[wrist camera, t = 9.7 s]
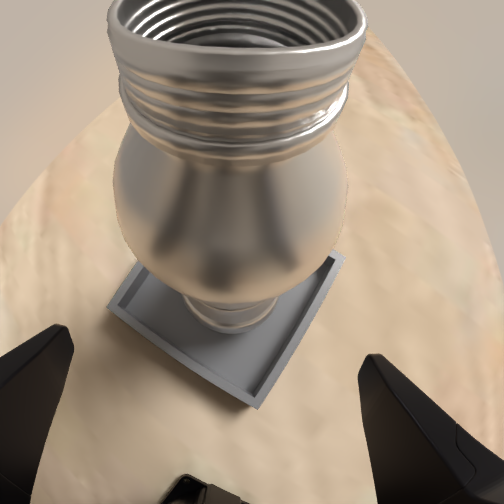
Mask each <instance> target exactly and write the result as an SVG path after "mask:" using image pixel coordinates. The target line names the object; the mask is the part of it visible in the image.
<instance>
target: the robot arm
mask: <svg viewBox="0 0 504 504" xmlns="http://www.w3.org/2000/svg"><path fill="white" fill-rule="evenodd" d="M73 353H74V345H73V342H72V339H71V336H70V333H69V330H68V328H67V327H66V326H64V325H59V324H54V325H52V326H50V327H49V328H47V329H45V330H44V331H42V332H40V333H39V334H37V335H36V336H34V337H32V338H31V339H29V340H27V341H26V342H24V343H22V344H21V345H19V346H18V347H16V348H14V349H13V350H11V351H10V352H8V353H6V354H5V355H3V356H2V357H0V504H30V500H31V494H32V490H33V486H34V482H35V478H36V474H37V470H38V466H39V462H40V459H41V455H42V452H43V449H44V445H45V442H46V439H47V436H48V432H49V429H50V426H51V423H52V420H53V417H54V415H55V412H56V409H57V406H58V403H59V401H60V398H61V395H62V392H63V389H64V385H65V381H66V378H67V374H68V370H69V367H70V363H71V360H72V356H73ZM358 385H359V394H360V403H361V413H362V422H363V427H364V432H365V437H366V441H367V446H368V451H369V457H370V462H371V467H372V473H373V478H374V484H375V490H376V496H377V502H378V504H504V460H502V459H501V458H500V457H498V456H497V455H496V454H494V453H493V452H491V451H490V450H489V449H487V448H486V447H485V446H484V445H482V444H481V443H480V442H478V441H477V440H476V439H475V438H474V437H472V436H471V435H470V434H469V433H468V432H467V431H466V430H464V429H463V428H462V427H461V426H460V425H459V424H456V421H455V420H453V419H452V418H451V417H450V416H449V415H448V414H447V413H446V412H445V411H444V410H442V409H441V408H440V407H439V406H438V405H437V404H436V403H435V402H434V401H433V400H431V399H430V398H429V397H428V396H427V395H426V394H425V393H424V392H423V391H422V390H420V389H419V388H418V387H417V386H416V385H415V384H414V383H413V382H412V381H410V380H409V379H408V378H407V377H406V376H405V375H404V374H403V373H402V372H400V371H399V370H398V369H397V368H396V367H395V366H394V365H393V364H392V363H390V362H389V361H388V360H387V359H386V358H385V357H384V356H383V355H381V354H368V355H367V356H366V358H365V360H364V362H363V364H362V366H361V368H360V370H359V373H358ZM184 479H189V480H190V482H186V481H185V480H184ZM160 504H249V503H247V502H244V501H242V500H241V499H240V497H238V496H236V495H234V494H232V493H229V492H227V491H225V490H223V489H221V488H219V487H217V486H215V485H213V484H206V483H205V482H203V481H201V480H199V479H197V478H195V477H193V476H191V475H189V474H184V475H182V476H181V478H180V479H179V480H178V482H177V483H176V484H175V486H174V487H173V488H172V489H171V491H170V492H169V493H168V495H167V496H166V497H165V498H164V500H163V501H162V502H161V503H160Z"/></svg>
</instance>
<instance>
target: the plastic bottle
mask: <svg viewBox="0 0 504 504" xmlns="http://www.w3.org/2000/svg"><path fill="white" fill-rule="evenodd" d="M107 22H108V29H107V33H108V37H109V40H110V43H111V46H112V50H113V53H114V57H115V59H116V63H117V66H118V69H119V73H120V75H119V93H120V96H121V99H122V102H123V105H124V108H125V110H126V113H127V115H128V118H129V120H130V124H129V126H128V129H127V131H126V133H125V135H124V138H123V140H122V142H121V145H120V148H119V151H118V154H117V157H116V160H115V165H114V173H113V189H114V197H115V205H116V213H117V220H118V223H119V226H120V228H121V231H122V234H123V236H124V239H125V241H126V243H127V244H128V246H129V248H130V249H131V251H132V252H133V254H134V255H135V257H136V258H137V260H138V261H139V262H140V263H141V264H142V265H143V266H144V267H145V268H146V269H147V270H148V271H149V272H151V273H152V274H153V275H154V276H155V277H156V278H157V279H159V280H160V281H162V282H163V283H164V284H166V285H168V286H169V287H171V288H173V289H174V290H176V291H178V292H179V293H181V294H182V298H183V301H184V303H185V305H186V307H187V309H188V310H189V312H190V313H191V314H192V315H193V317H194V318H195V319H196V320H198V321H199V322H200V323H201V324H202V325H204V326H206V327H207V328H209V329H211V330H214V331H217V332H220V333H227V334H237V333H243V332H247V331H250V330H252V329H254V328H256V327H258V326H260V325H261V324H262V323H263V322H264V321H266V320H267V319H268V318H269V316H270V315H271V314H272V312H273V311H274V309H275V307H276V305H277V303H278V300H279V296H280V295H281V294H283V293H285V292H287V291H288V290H290V289H292V288H294V287H295V286H297V285H298V284H300V283H301V282H303V281H305V280H306V279H307V278H308V277H309V276H310V275H311V274H312V273H313V272H315V271H316V270H317V269H318V268H319V267H320V266H321V265H322V264H323V263H324V261H325V260H326V258H327V257H328V255H329V254H330V252H331V251H332V249H333V248H334V247H335V245H336V242H337V240H338V237H339V234H340V232H341V229H342V227H343V222H344V215H345V208H346V200H347V193H348V178H347V168H346V164H345V161H344V158H343V155H342V152H341V149H340V146H339V143H338V141H337V138H336V135H335V133H334V130H333V129H334V127H335V125H336V123H337V120H338V118H339V116H340V114H341V112H342V110H343V107H344V105H345V103H346V101H347V99H348V90H349V82H348V80H349V77H350V75H351V73H352V70H353V68H354V66H355V64H356V61H357V59H358V57H359V54H360V52H361V49H362V47H363V45H364V43H365V40H366V30H367V28H368V21H367V16H366V14H365V12H364V11H363V9H362V7H361V6H360V5H359V4H358V3H357V2H356V1H355V0H114V1H113V3H112V4H111V6H110V8H109V9H108V13H107Z"/></svg>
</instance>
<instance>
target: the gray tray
mask: <svg viewBox="0 0 504 504" xmlns="http://www.w3.org/2000/svg"><path fill="white" fill-rule="evenodd" d="M345 258H346V257H345V256H343V255H342V254H340V253H338V252H337V251H335V250H334V249H332V251H331V252H330V254H329V255H328V257H327V258H326V260H325V261H324V263H323V264H322V265H321V266H320V267H319V268H318V269H317V270H316V271H315V272H313V273H312V274H311V275H310V276H309V277H308V278H307V279H306V280H305V281H303V282H301V283H300V284H298V285H297V286H295V287H294V288H292V289H290V290H288V291H287V292H285V293H283V294H281V295H280V296H279V300H278V303H277V305H276V307H275V309H274V311H273V312H272V314H271V315H270V316H269V318H268V319H267V320H266V321H264V322H263V323H262V324H261V325H260V326H258V327H256V328H254V329H252V330H250V331H247V332H243V333H237V334H227V333H220V332H217V331H214V330H211V329H209V328H207V327H206V326H204V325H202V324H201V323H200V322H199V321H198V320H196V319H195V318H194V317H193V315H192V314H191V313H190V312H189V310H188V309H187V307H186V305H185V303H184V301H183V298H182V294H181V293H179V292H178V291H176V290H174V289H173V288H171V287H169V286H168V285H166V284H164V283H163V282H162V281H160V280H159V279H157V278H156V277H155V276H154V275H153V274H152V273H151V272H149V271H148V270H147V269H146V268H145V267H144V266H143V265H142V264H141V263H140V262H139V261H138V262H137V263H136V264H135V266H134V267H133V269H132V270H131V272H130V273H129V274H128V276H127V277H126V279H125V280H124V282H123V283H122V285H121V286H120V288H119V289H118V291H117V292H116V294H115V295H114V297H113V298H112V300H111V301H110V303H109V304H108V306H107V308H108V309H109V310H110V311H112V312H113V313H114V314H115V315H116V316H118V317H119V318H120V319H121V320H123V321H124V322H125V323H127V324H128V325H129V326H130V327H132V328H133V329H134V330H136V331H137V332H138V333H140V334H141V335H142V336H144V337H145V338H146V339H148V340H149V341H150V342H152V343H153V344H155V345H156V346H157V347H159V348H160V349H162V350H163V351H164V352H166V353H167V354H169V355H170V356H171V357H173V358H174V359H176V360H177V361H179V362H180V363H182V364H183V365H185V366H186V367H188V368H189V369H191V370H192V371H194V372H195V373H197V374H198V375H200V376H202V377H203V378H205V379H206V380H208V381H209V382H211V383H213V384H214V385H216V386H218V387H219V388H221V389H222V390H224V391H226V392H227V393H229V394H231V395H233V396H234V397H236V398H238V399H239V400H241V401H243V402H245V403H246V404H248V405H250V406H252V407H254V408H255V409H257V410H258V409H259V407H260V406H261V404H262V403H263V401H264V400H265V398H266V396H267V395H268V393H269V392H270V390H271V389H272V387H273V386H274V384H275V382H276V381H277V379H278V378H279V376H280V374H281V373H282V371H283V370H284V368H285V366H286V365H287V363H288V361H289V360H290V358H291V356H292V355H293V353H294V351H295V350H296V348H297V346H298V345H299V343H300V341H301V340H302V338H303V336H304V334H305V333H306V331H307V329H308V327H309V326H310V324H311V322H312V320H313V319H314V317H315V315H316V313H317V311H318V310H319V308H320V306H321V304H322V302H323V300H324V299H325V297H326V295H327V293H328V291H329V289H330V287H331V286H332V284H333V282H334V280H335V278H336V276H337V274H338V272H339V270H340V268H341V266H342V264H343V262H344V260H345Z"/></svg>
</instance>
